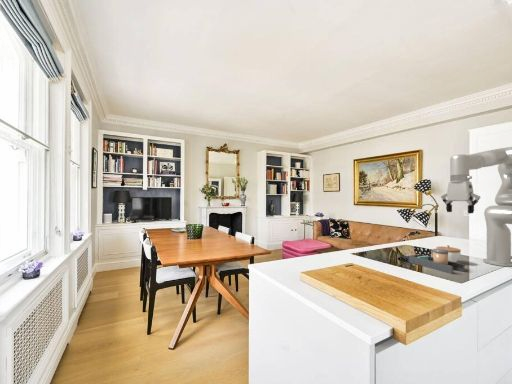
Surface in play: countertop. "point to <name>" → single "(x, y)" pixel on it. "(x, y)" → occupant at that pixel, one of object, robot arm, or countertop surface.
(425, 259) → the pusher
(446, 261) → the jar
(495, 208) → the robot arm
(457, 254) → the lidded jar
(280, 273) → the countertop surface
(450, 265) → the lane
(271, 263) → the countertop surface
